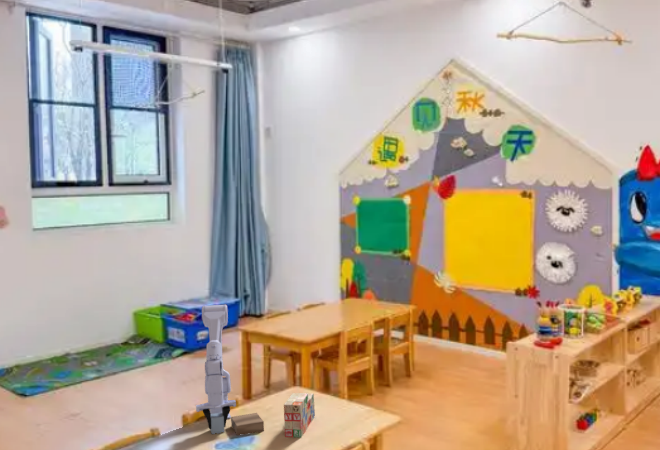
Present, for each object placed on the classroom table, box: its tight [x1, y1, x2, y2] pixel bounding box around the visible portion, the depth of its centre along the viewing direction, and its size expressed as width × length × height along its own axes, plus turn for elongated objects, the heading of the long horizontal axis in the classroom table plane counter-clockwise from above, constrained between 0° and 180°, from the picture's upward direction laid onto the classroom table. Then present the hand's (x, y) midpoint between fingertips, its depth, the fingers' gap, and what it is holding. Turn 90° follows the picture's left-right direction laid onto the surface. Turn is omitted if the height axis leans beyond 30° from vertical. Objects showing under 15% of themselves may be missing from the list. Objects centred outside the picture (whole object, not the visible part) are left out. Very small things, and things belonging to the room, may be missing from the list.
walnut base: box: [230, 412, 265, 436], centre depth 253 cm, size 10×10×4 cm
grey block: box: [209, 413, 225, 435], centre depth 251 cm, size 5×5×6 cm
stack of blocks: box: [283, 392, 316, 438], centre depth 253 cm, size 21×6×12 cm, turn 168°
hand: (217, 427), depth 251 cm, fingers closed on grey block, 5 cm apart
